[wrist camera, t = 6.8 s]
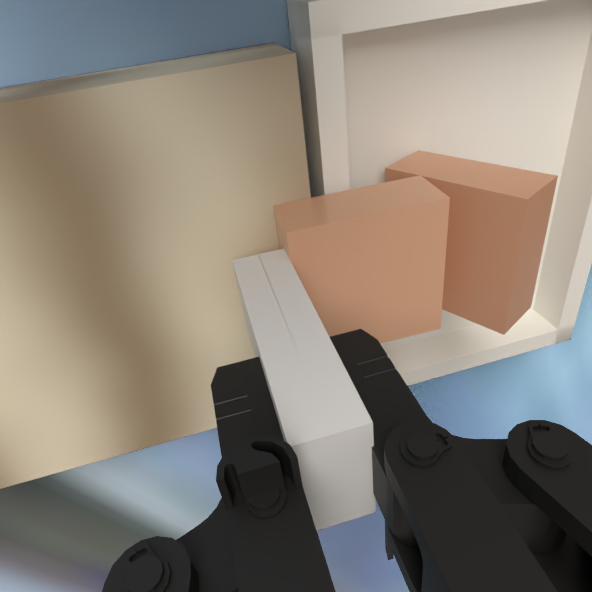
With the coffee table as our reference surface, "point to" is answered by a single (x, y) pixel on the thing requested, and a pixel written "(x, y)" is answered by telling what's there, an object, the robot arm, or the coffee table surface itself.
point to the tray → (458, 131)
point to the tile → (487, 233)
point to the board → (134, 246)
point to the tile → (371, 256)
